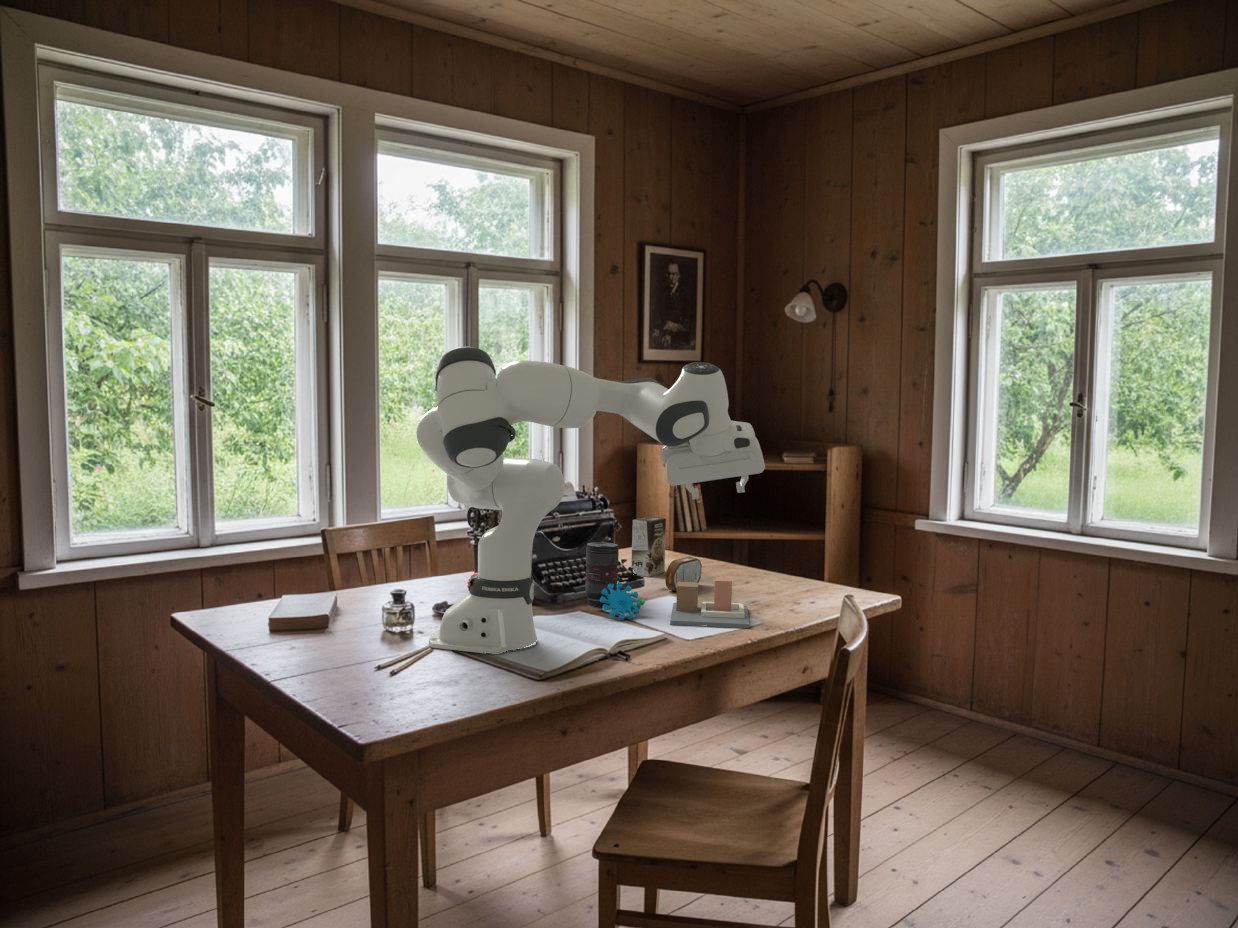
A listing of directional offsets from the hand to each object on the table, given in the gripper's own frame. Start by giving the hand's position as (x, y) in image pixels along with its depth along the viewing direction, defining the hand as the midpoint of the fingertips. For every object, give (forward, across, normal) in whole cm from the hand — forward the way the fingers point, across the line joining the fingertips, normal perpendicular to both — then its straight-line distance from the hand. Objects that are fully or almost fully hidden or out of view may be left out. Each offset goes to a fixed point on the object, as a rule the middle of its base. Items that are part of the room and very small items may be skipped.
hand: (718, 494), depth 195 cm
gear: (+35, -26, +7) cm, 44 cm away
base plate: (+39, -6, +8) cm, 40 cm away
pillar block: (+39, -3, +9) cm, 40 cm away
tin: (+52, -12, +35) cm, 64 cm away
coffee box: (+59, -22, +53) cm, 82 cm away
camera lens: (+40, -32, +19) cm, 54 cm away
